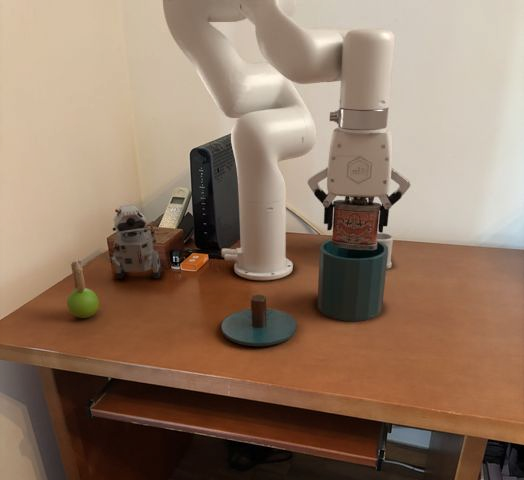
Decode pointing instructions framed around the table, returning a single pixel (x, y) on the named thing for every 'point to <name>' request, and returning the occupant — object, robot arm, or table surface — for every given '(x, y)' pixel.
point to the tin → (351, 281)
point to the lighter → (355, 223)
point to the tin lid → (258, 325)
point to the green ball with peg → (81, 295)
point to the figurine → (134, 243)
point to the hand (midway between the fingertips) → (355, 228)
